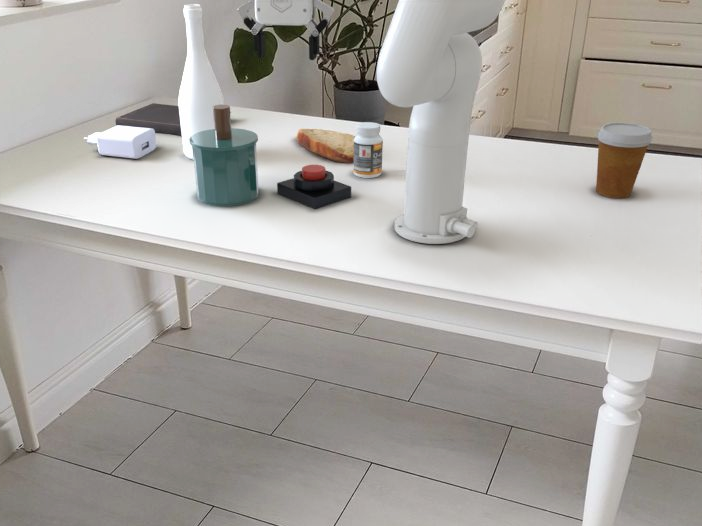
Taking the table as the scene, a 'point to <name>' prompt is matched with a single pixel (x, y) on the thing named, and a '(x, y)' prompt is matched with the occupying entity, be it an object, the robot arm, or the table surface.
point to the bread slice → (328, 144)
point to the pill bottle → (368, 150)
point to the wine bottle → (196, 83)
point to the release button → (313, 172)
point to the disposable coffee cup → (620, 157)
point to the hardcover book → (154, 118)
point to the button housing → (314, 190)
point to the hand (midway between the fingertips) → (287, 57)
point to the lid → (223, 134)
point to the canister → (226, 176)
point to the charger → (124, 141)
